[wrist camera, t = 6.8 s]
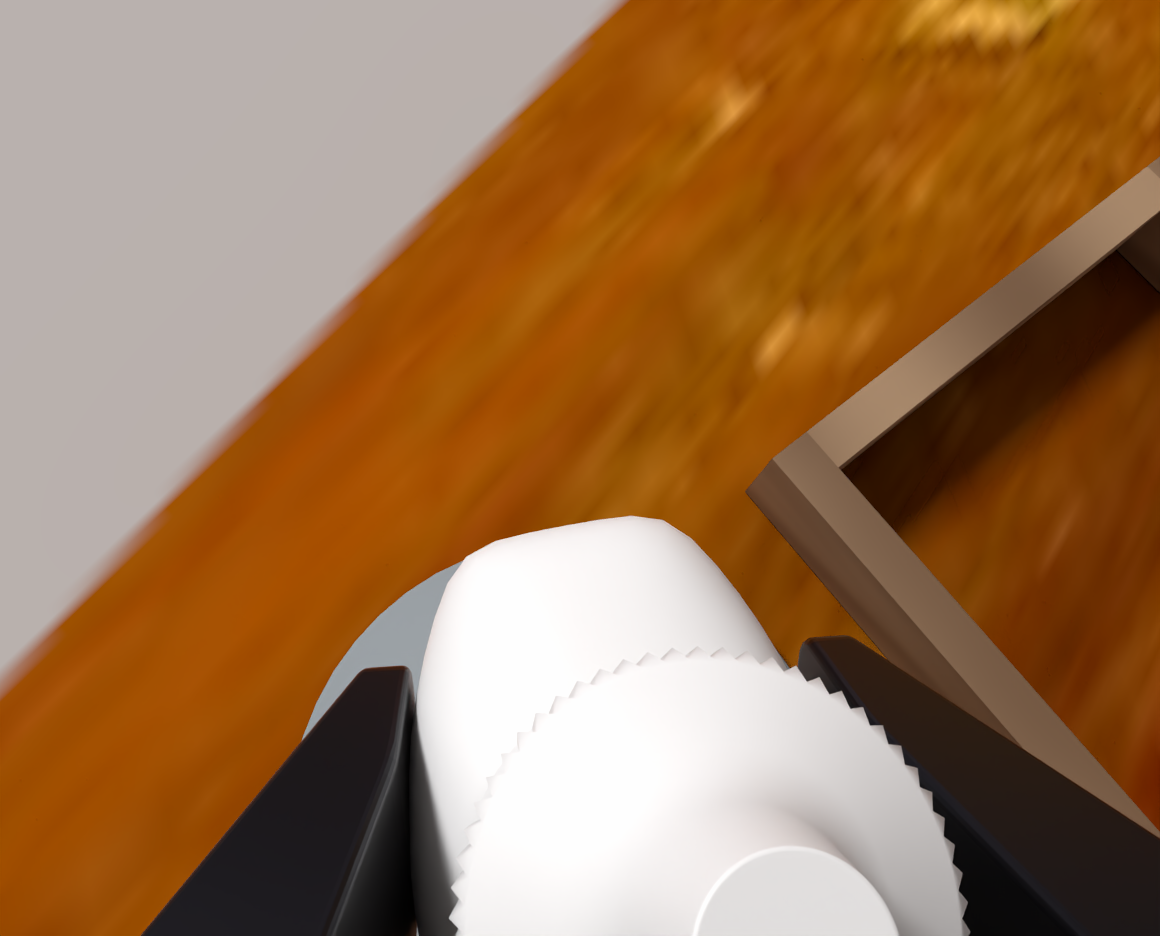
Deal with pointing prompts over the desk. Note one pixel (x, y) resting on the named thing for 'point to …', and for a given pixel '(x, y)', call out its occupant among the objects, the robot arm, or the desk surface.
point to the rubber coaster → (392, 641)
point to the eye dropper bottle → (650, 761)
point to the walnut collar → (881, 558)
